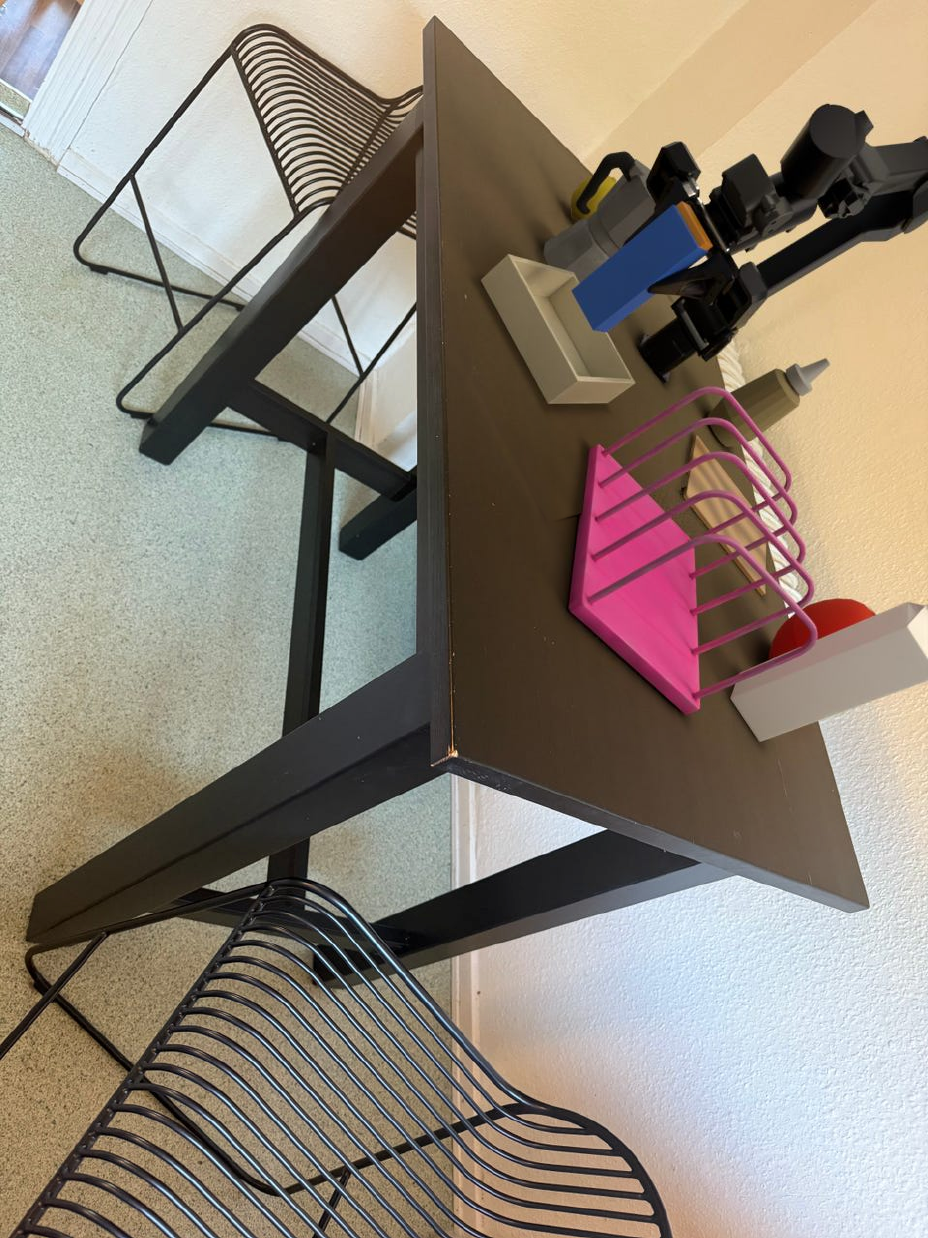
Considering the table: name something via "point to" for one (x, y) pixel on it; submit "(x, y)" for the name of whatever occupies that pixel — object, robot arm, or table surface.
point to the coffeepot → (603, 218)
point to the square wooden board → (723, 509)
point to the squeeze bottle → (765, 400)
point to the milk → (838, 673)
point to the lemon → (594, 201)
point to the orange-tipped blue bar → (641, 267)
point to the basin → (555, 333)
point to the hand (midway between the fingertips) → (636, 266)
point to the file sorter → (670, 563)
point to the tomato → (818, 623)
